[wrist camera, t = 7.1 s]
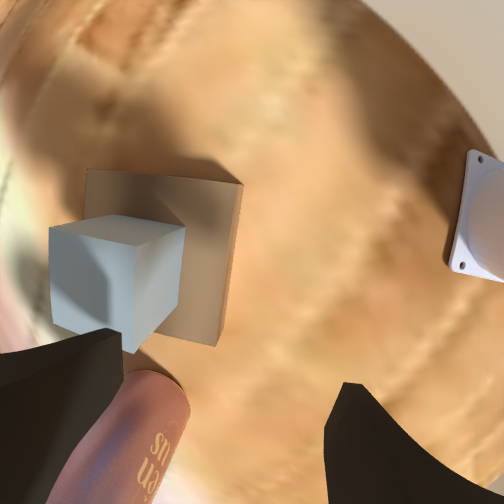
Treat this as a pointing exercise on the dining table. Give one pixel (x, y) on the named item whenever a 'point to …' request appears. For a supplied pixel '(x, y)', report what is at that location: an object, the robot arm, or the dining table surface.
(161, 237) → the pale grey-blue block
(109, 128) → the dining table surface
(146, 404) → the beverage can
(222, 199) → the tan block
